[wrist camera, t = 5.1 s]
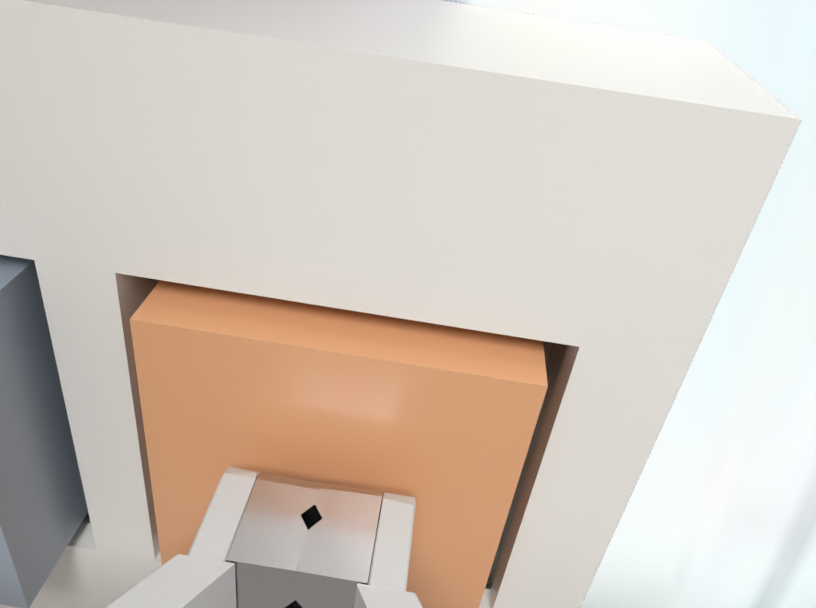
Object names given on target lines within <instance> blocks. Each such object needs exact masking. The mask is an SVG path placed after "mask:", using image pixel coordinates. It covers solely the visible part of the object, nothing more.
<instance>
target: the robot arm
mask: <svg viewBox="0 0 816 608" xmlns="http://www.w3.org/2000/svg"><path fill="white" fill-rule="evenodd" d="M382 497H383V500H382ZM381 505H382V506H381ZM415 508H416V500H415V497H410V496H404V495H398V494H391V493H385V492H384V494H383V491H376V490H370V489H363V488H356V487H349V486H343V485H336V484H329V483H322V484H321V483H316V482H311V481H305V480H300V479H295V478H290V477H284V476H279V475H274V474H268V473H263V472H257V471H251V470H245V469H240V468H234V467H228V468H227V470H226V471H225V472H224V473H223V475H222V477H221V479H220V481H219V484H218V486H217V488H216V491H215V493H214V495H213V497H212V500H211V502H210V504H209V507H208V509H207V511H206V514H205V516H204V518H203V521H202V523H201V525H200V527H199V530H198V532H197V534H196V537H195V539H194V541H193V544H192V546H191V548H190V551H189V553H188V555H183V554H177V555H176V556H174V557H173V558H172V559H170V560H169V561H168V562H166V563H165V564H164V565H162V566H161V567H160V568H158V569H157V570H155V571H154V572H153V573H151V574H150V575H149V576H147V577H146V578H145V579H143V580H142V581H141V582H139V583H138V584H137V585H135V586H134V587H133V588H131V589H130V590H129V591H127V592H126V593H124V594H123V595H122V596H120V597H119V598H118V599H116V600H115V601H114V602H112V603H111V604H110V605H108V606H107V607H106V608H423V607H422V605H421V603H420V601H419V599H418V597H417V595H416V593H413V592H408V591H406V586H407V578H408V569H409V560H410V551H411V543H412V534H413V525H414V516H415Z"/></svg>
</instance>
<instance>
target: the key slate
mask: <svg viewBox="0 0 816 608" xmlns="http://www.w3.org/2000/svg"><path fill="white" fill-rule="evenodd" d="M87 513H88V508H87V504H86V499H85V494H84V490H83V485H82V480H81V476H80V471H79V466H78V462H77V457H76V452H75V448H74V443H73V438H72V434H71V429H70V424H69V420H68V415H67V410H66V406H65V401H64V396H63V392H62V387H61V382H60V378H59V373H58V368H57V364H56V359H55V354H54V350H53V345H52V340H51V336H50V331H49V326H48V322H47V317H46V312H45V308H44V303H43V299H42V294H41V289H40V285H39V280H38V275H37V271H36V266H35V261H34V260H31V259H25V258H18V257H12V256H6V255H0V604H1V605H7V606H13V607H19V608H29V607H30V606H31V604H32V602H33V601H34V599H35V597H36V596H37V594H38V593H39V591H40V589H41V588H42V586H43V584H44V583H45V581H46V580H47V578H48V576H49V575H50V573H51V571H52V570H53V568H54V567H55V565H56V563H57V562H58V560H59V558H60V557H61V555H62V554H63V552H64V550H65V549H66V547H67V545H68V544H69V542H70V541H71V539H72V537H73V536H74V534H75V532H76V531H77V529H78V528H79V526H80V524H81V523H82V521H83V519H84V518H85V516H86V515H87Z"/></svg>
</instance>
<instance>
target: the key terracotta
mask: <svg viewBox="0 0 816 608" xmlns="http://www.w3.org/2000/svg"><path fill="white" fill-rule="evenodd" d="M130 326H131V334H132V341H133V349H134V357H135V364H136V372H137V379H138V387H139V395H140V402H141V410H142V417H143V425H144V433H145V440H146V448H147V456H148V463H149V471H150V478H151V486H152V494H153V501H154V509H155V516H156V524H157V532H158V539H159V547H160V555H161V562H162V565H164V564H165V563H166V562H168V561H169V560H170V559H172V558H173V557H174V556H176V555H177V554H183V555H188V553H189V551H190V548H191V546H192V544H193V541H194V539H195V537H196V534H197V532H198V530H199V527H200V525H201V523H202V521H203V518H204V516H205V514H206V511H207V509H208V507H209V504H210V502H211V500H212V497H213V495H214V493H215V491H216V488H217V486H218V484H219V481H220V479H221V477H222V475H223V473H224V472H225V471H226V470H227V468H228V467H234V468H240V469H245V470H251V471H257V472H263V473H268V474H274V475H279V476H284V477H290V478H295V479H300V480H305V481H311V482H316V483H321V484H322V483H329V484H336V485H343V486H349V487H356V488H363V489H370V490H376V491H383V494H384V492H385V493H391V494H398V495H404V496H410V497H415V500H416V508H415V516H414V525H413V534H412V543H411V551H410V560H409V569H408V578H407V586H406V591H408V592H413V593H416V595H417V597H418V599H419V601H420V603H421V605H422V607H423V608H479V606H480V603H481V600H482V597H483V593H484V590H485V587H486V584H487V581H488V577H489V574H490V571H491V568H492V564H493V561H494V558H495V555H496V552H497V548H498V545H499V542H500V539H501V536H502V532H503V529H504V526H505V523H506V519H507V516H508V513H509V510H510V507H511V503H512V500H513V497H514V494H515V491H516V487H517V484H518V481H519V478H520V474H521V471H522V468H523V465H524V462H525V458H526V455H527V452H528V449H529V446H530V442H531V439H532V436H533V433H534V430H535V426H536V423H537V420H538V417H539V413H540V410H541V407H542V404H543V401H544V397H545V394H546V391H547V388H548V382H547V373H546V364H545V355H544V345H543V341H539V340H533V339H527V338H521V337H514V336H508V335H502V334H496V333H489V332H483V331H477V330H470V329H464V328H458V327H452V326H445V325H439V324H433V323H426V322H420V321H414V320H408V319H401V318H395V317H389V316H382V315H376V314H370V313H364V312H357V311H351V310H345V309H339V308H332V307H326V306H320V305H313V304H307V303H301V302H295V301H288V300H282V299H276V298H269V297H263V296H257V295H251V294H244V293H238V292H232V291H226V290H219V289H213V288H207V287H200V286H194V285H188V284H182V283H175V282H169V281H163V280H160V281H159V282H158V284H157V285H156V286H155V287H154V289H153V290H152V291H151V293H150V294H149V295H148V296H147V298H146V299H145V300H144V302H143V303H142V304H141V305H140V307H139V308H138V309H137V310H136V312H135V313H134V314H133V316H132V317H131V318H130ZM382 500H383V497H382ZM381 506H382V505H381Z"/></svg>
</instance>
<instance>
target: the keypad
mask: <svg viewBox="0 0 816 608" xmlns="http://www.w3.org/2000/svg"><path fill="white" fill-rule="evenodd" d="M801 121H802V119H801V118H800V117H799V116H797V115H796V114H795V113H794V112H793V111H791V110H790V109H789V108H788V107H787V106H785V105H784V104H783V103H782V102H781V101H780V100H778V99H777V98H776V97H775V96H774V95H772V94H771V93H770V92H769V91H768V90H766V89H765V88H764V87H763V86H762V85H760V84H759V83H758V82H757V81H756V80H755V79H753V78H752V77H751V76H750V75H749V74H747V73H746V72H745V71H744V70H743V69H741V68H740V67H739V66H738V65H737V64H735V63H734V62H733V61H732V60H731V59H730V58H728V57H727V56H726V55H725V54H724V53H722V52H721V51H720V50H719V49H718V48H716V47H715V46H714V45H713V44H712V43H711V42H709V41H707V40H700V39H694V38H687V37H680V36H674V35H667V34H661V33H654V32H647V31H641V30H634V29H627V28H621V27H614V26H608V25H601V24H594V23H588V22H581V21H574V20H568V19H561V18H555V17H548V16H541V15H535V14H528V13H521V12H515V11H508V10H501V9H495V8H488V7H482V6H475V5H468V4H462V3H455V2H448V1H442V0H0V255H6V256H12V257H18V258H25V259H31V260H34V261H35V266H36V271H37V275H38V280H39V285H40V289H41V294H42V299H43V303H44V308H45V312H46V317H47V322H48V326H49V331H50V336H51V340H52V345H53V350H54V354H55V359H56V364H57V368H58V373H59V378H60V382H61V387H62V392H63V396H64V401H65V406H66V410H67V415H68V420H69V424H70V429H71V434H72V438H73V443H74V448H75V452H76V457H77V462H78V466H79V471H80V476H81V480H82V485H83V490H84V494H85V499H86V504H87V508H88V513H87V515H86V516H85V518H84V519H83V521H82V523H81V524H80V526H79V528H78V529H77V531H76V532H75V534H74V536H73V537H72V539H71V541H70V542H69V544H68V545H67V547H66V549H65V550H64V552H63V554H62V555H61V557H60V558H59V560H58V562H57V563H56V565H55V567H54V568H53V570H52V571H51V573H50V575H49V576H48V578H47V580H46V581H45V583H44V584H43V586H42V588H41V589H40V591H39V593H38V594H37V596H36V597H35V599H34V601H33V602H32V604H31V606H30V607H29V608H106V607H107V606H108V605H110V604H111V603H112V602H114V601H115V600H116V599H118V598H119V597H120V596H122V595H123V594H124V593H126V592H127V591H129V590H130V589H131V588H133V587H134V586H135V585H137V584H138V583H139V582H141V581H142V580H143V579H145V578H146V577H147V576H149V575H150V574H151V573H153V572H154V571H155V570H157V569H158V568H160V567H161V566H162V562H161V555H160V547H159V539H158V532H157V524H156V516H155V509H154V501H153V494H152V486H151V478H150V471H149V463H148V456H147V448H146V440H145V433H144V425H143V417H142V410H141V402H140V395H139V387H138V379H137V372H136V364H135V357H134V349H133V341H132V334H131V326H130V318H131V317H132V316H133V314H134V313H135V312H136V310H137V309H138V308H139V307H140V305H141V304H142V303H143V302H144V300H145V299H146V298H147V296H148V295H149V294H150V293H151V291H152V290H153V289H154V287H155V286H156V285H157V284H158V282H159V281H160V280H163V281H169V282H175V283H182V284H188V285H194V286H200V287H207V288H213V289H219V290H226V291H232V292H238V293H244V294H251V295H257V296H263V297H269V298H276V299H282V300H288V301H295V302H301V303H307V304H313V305H320V306H326V307H332V308H339V309H345V310H351V311H357V312H364V313H370V314H376V315H382V316H389V317H395V318H401V319H408V320H414V321H420V322H426V323H433V324H439V325H445V326H452V327H458V328H464V329H470V330H477V331H483V332H489V333H496V334H502V335H508V336H514V337H521V338H527V339H533V340H539V341H543V345H544V355H545V364H546V373H547V382H548V388H547V391H546V394H545V397H544V401H543V404H542V407H541V410H540V413H539V417H538V420H537V423H536V426H535V430H534V433H533V436H532V439H531V442H530V446H529V449H528V452H527V455H526V458H525V462H524V465H523V468H522V471H521V474H520V478H519V481H518V484H517V487H516V491H515V494H514V497H513V500H512V503H511V507H510V510H509V513H508V516H507V519H506V523H505V526H504V529H503V532H502V536H501V539H500V542H499V545H498V548H497V552H496V555H495V558H494V561H493V564H492V568H491V571H490V574H489V577H488V581H487V584H486V587H485V590H484V593H483V597H482V600H481V603H480V606H479V608H580V607H581V605H582V602H583V600H584V598H585V596H586V594H587V591H588V589H589V587H590V585H591V583H592V580H593V578H594V576H595V574H596V572H597V569H598V567H599V565H600V563H601V561H602V558H603V556H604V554H605V552H606V550H607V547H608V545H609V543H610V541H611V539H612V536H613V534H614V532H615V530H616V528H617V525H618V523H619V521H620V519H621V517H622V514H623V512H624V510H625V508H626V506H627V503H628V501H629V499H630V497H631V495H632V492H633V490H634V488H635V486H636V484H637V481H638V479H639V477H640V475H641V473H642V470H643V468H644V466H645V464H646V462H647V459H648V457H649V455H650V453H651V451H652V448H653V446H654V444H655V442H656V440H657V437H658V435H659V433H660V431H661V429H662V426H663V424H664V422H665V420H666V418H667V415H668V413H669V411H670V409H671V407H672V404H673V402H674V400H675V398H676V396H677V393H678V391H679V389H680V387H681V385H682V382H683V380H684V378H685V376H686V374H687V371H688V369H689V367H690V365H691V363H692V360H693V358H694V356H695V354H696V352H697V349H698V347H699V345H700V343H701V341H702V338H703V336H704V334H705V332H706V330H707V327H708V325H709V323H710V321H711V319H712V316H713V314H714V312H715V310H716V308H717V305H718V303H719V301H720V299H721V297H722V295H723V292H724V290H725V288H726V286H727V284H728V281H729V279H730V277H731V275H732V273H733V270H734V268H735V266H736V264H737V262H738V259H739V257H740V255H741V253H742V251H743V248H744V246H745V244H746V242H747V240H748V237H749V235H750V233H751V231H752V229H753V226H754V224H755V222H756V220H757V218H758V215H759V213H760V211H761V209H762V207H763V204H764V202H765V200H766V198H767V196H768V193H769V191H770V189H771V187H772V185H773V182H774V180H775V178H776V176H777V174H778V171H779V169H780V167H781V165H782V163H783V160H784V158H785V156H786V154H787V152H788V149H789V147H790V145H791V143H792V141H793V138H794V136H795V134H796V132H797V130H798V127H799V125H800V123H801ZM0 608H19V607H13V606H7V605H1V604H0Z"/></svg>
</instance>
